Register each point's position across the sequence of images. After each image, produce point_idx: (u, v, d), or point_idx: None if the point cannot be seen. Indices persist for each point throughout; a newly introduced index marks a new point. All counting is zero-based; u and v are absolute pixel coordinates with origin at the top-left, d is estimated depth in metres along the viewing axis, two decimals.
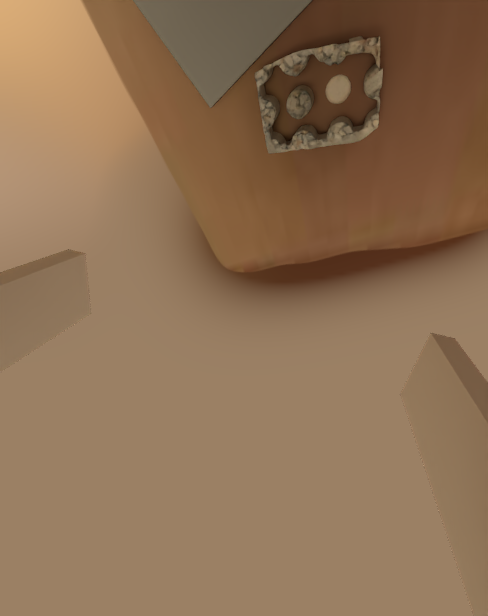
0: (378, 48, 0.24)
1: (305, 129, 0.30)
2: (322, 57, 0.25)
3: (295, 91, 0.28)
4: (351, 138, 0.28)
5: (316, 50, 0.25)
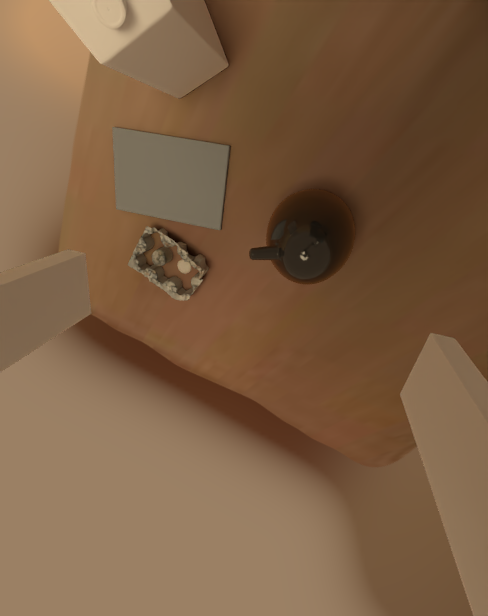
0: (202, 272, 0.43)
1: (156, 270, 0.46)
2: (179, 252, 0.43)
3: (161, 251, 0.44)
4: (173, 295, 0.46)
5: (179, 247, 0.43)
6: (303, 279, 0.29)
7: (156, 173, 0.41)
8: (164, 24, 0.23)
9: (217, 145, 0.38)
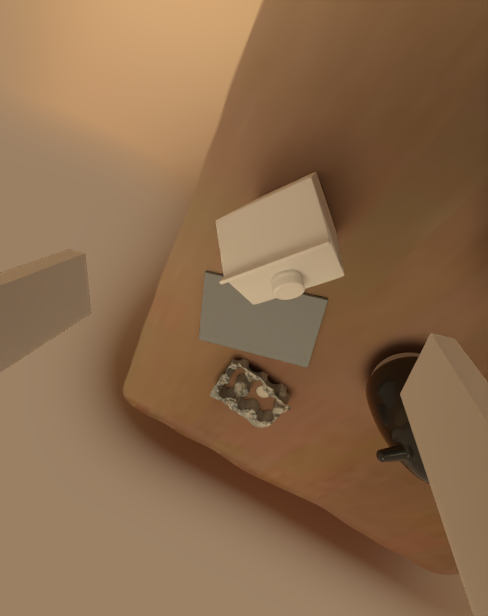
0: None
1: (236, 397, 0.46)
2: (265, 389, 0.43)
3: (244, 384, 0.44)
4: (253, 422, 0.46)
5: (264, 384, 0.43)
6: None
7: (246, 314, 0.41)
8: None
9: (315, 298, 0.38)
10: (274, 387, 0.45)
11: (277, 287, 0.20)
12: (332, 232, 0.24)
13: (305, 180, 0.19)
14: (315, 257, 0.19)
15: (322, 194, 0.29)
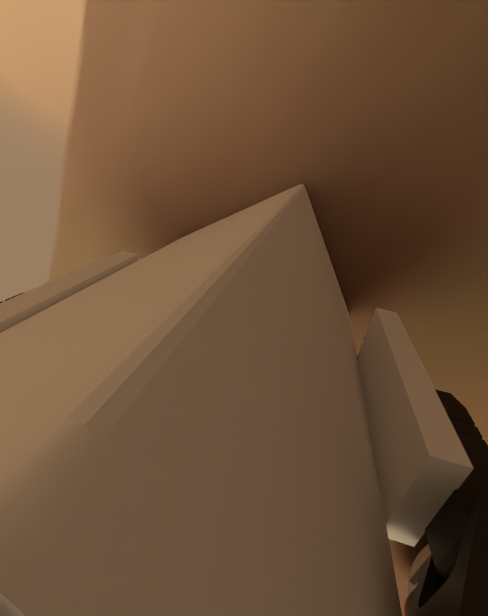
0: None
1: None
2: None
3: None
4: None
5: None
6: None
7: None
8: None
9: None
10: None
11: None
12: (357, 462, 0.06)
13: None
14: None
15: (317, 252, 0.10)
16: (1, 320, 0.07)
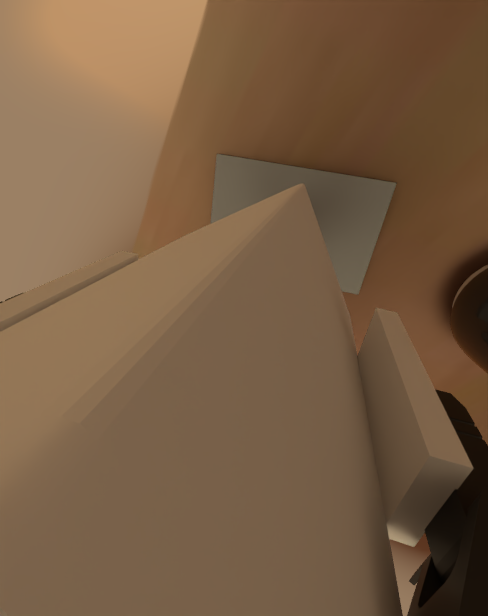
0: None
1: None
2: None
3: None
4: None
5: None
6: None
7: None
8: None
9: (377, 182, 0.26)
10: None
11: None
12: (357, 462, 0.06)
13: None
14: None
15: (317, 251, 0.10)
16: (1, 320, 0.07)
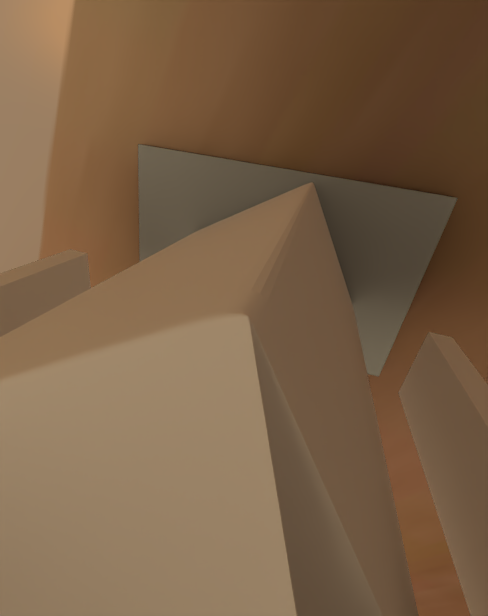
0: None
1: None
2: None
3: None
4: None
5: None
6: None
7: None
8: None
9: (421, 196, 0.14)
10: None
11: None
12: (365, 412, 0.07)
13: (194, 337, 0.02)
14: None
15: (327, 243, 0.11)
16: None
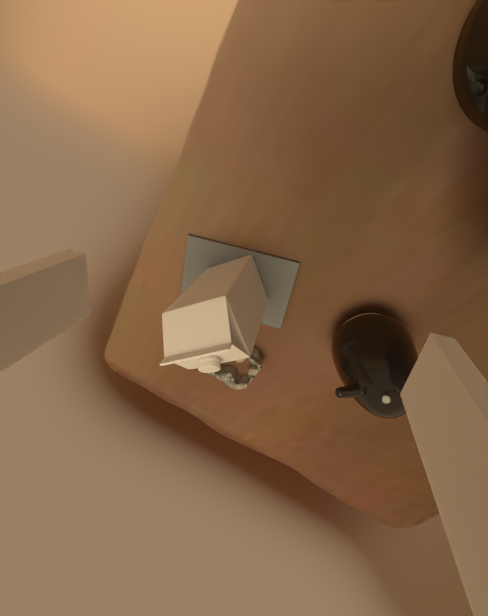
0: None
1: None
2: None
3: None
4: (231, 385, 0.49)
5: None
6: (383, 417, 0.33)
7: None
8: None
9: (288, 262, 0.41)
10: None
11: (200, 367, 0.29)
12: (249, 318, 0.34)
13: (221, 297, 0.29)
14: None
15: (251, 279, 0.38)
16: None
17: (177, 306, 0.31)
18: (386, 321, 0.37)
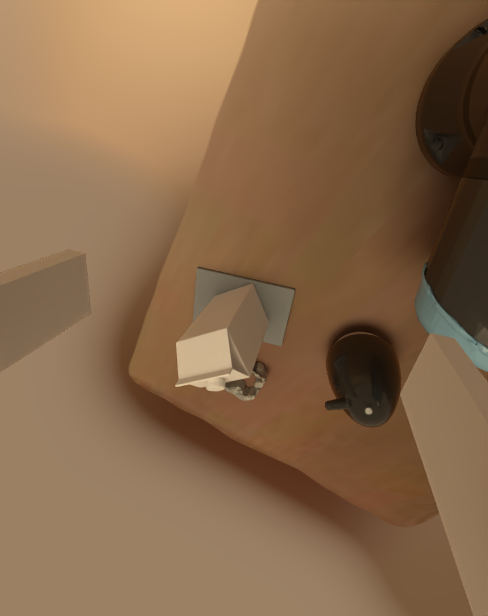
0: None
1: None
2: None
3: None
4: (240, 397, 0.56)
5: None
6: (367, 426, 0.38)
7: None
8: None
9: (285, 289, 0.47)
10: None
11: (208, 387, 0.35)
12: (249, 343, 0.40)
13: (223, 329, 0.35)
14: None
15: (252, 307, 0.44)
16: None
17: (188, 336, 0.37)
18: (371, 340, 0.42)
